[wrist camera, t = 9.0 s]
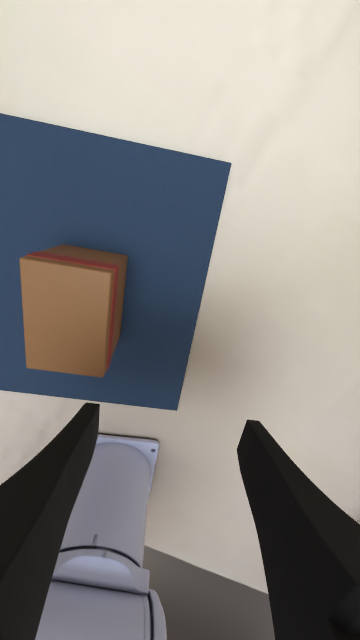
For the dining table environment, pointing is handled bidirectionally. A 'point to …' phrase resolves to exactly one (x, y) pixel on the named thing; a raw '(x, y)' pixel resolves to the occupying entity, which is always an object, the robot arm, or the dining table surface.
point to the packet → (72, 308)
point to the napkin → (109, 250)
